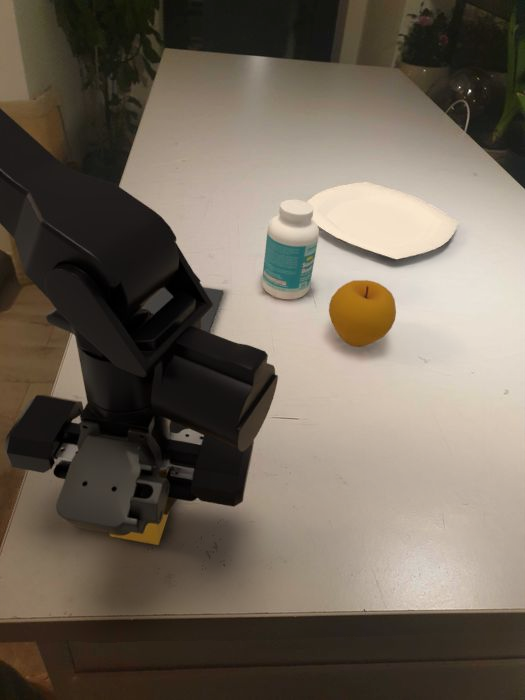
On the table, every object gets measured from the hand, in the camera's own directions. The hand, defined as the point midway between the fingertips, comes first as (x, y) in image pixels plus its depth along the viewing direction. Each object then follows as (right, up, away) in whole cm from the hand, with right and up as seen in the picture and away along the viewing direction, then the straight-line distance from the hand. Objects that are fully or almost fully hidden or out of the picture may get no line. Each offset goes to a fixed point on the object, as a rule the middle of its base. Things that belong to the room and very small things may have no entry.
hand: (140, 505), depth 48 cm
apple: (+24, +16, +26) cm, 39 cm away
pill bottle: (+15, +24, +34) cm, 44 cm away
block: (0, -2, +1) cm, 2 cm away
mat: (-2, +19, +26) cm, 32 cm away
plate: (+33, +38, +53) cm, 73 cm away
